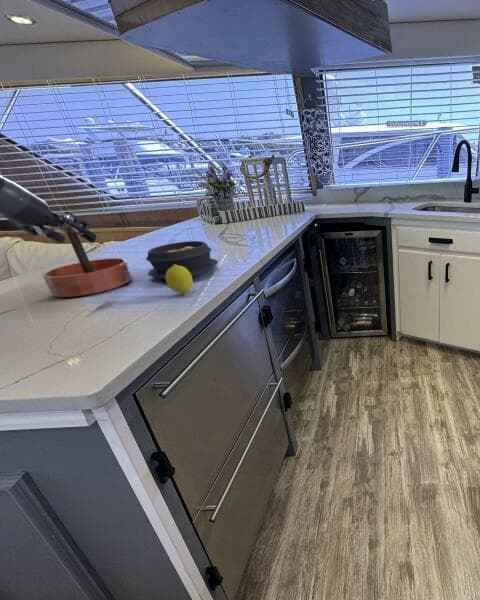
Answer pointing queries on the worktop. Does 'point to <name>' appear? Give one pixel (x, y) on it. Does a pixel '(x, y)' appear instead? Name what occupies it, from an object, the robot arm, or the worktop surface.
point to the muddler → (80, 252)
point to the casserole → (181, 258)
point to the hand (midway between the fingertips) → (78, 240)
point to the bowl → (87, 278)
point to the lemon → (179, 279)
